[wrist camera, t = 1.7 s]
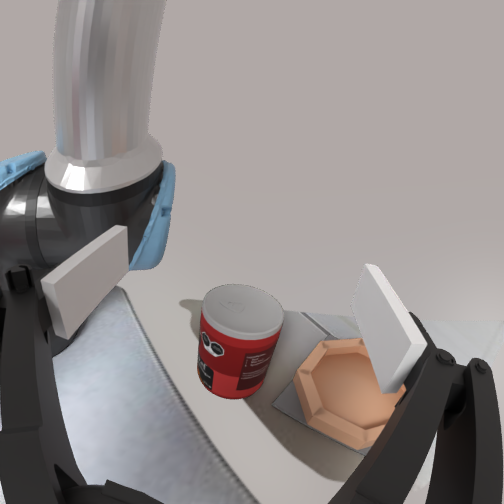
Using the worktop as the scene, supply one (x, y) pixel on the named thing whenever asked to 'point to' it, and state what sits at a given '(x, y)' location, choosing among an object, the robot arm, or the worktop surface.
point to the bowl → (344, 393)
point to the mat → (292, 407)
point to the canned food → (237, 339)
